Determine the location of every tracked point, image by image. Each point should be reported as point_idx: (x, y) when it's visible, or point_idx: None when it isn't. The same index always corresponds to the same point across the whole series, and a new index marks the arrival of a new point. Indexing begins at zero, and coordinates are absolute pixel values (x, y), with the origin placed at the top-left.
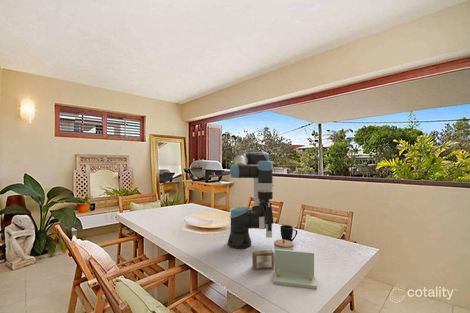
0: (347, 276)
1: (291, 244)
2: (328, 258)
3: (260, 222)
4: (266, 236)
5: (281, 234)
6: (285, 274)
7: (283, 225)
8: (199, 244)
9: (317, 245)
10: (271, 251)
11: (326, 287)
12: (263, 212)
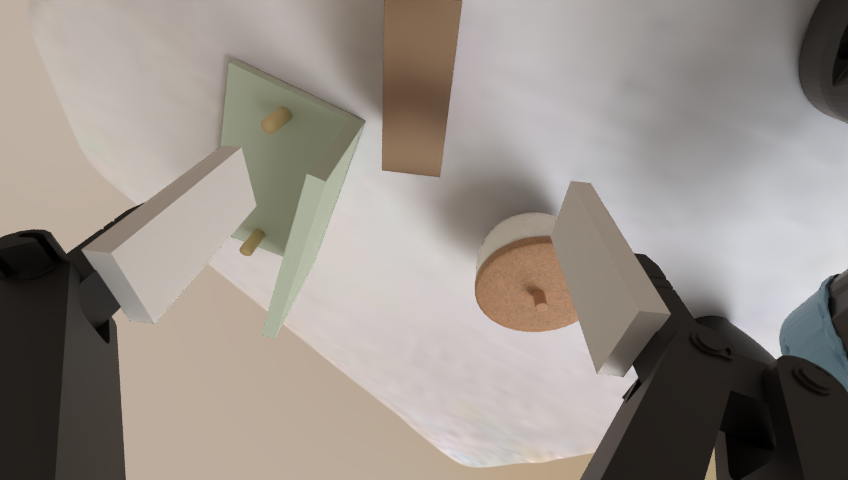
0: (312, 340)
1: (492, 313)
2: (446, 363)
3: (594, 251)
4: (215, 151)
5: (742, 343)
6: (301, 156)
7: None
8: None
9: (570, 392)
10: (409, 164)
11: (235, 255)
12: (593, 461)
